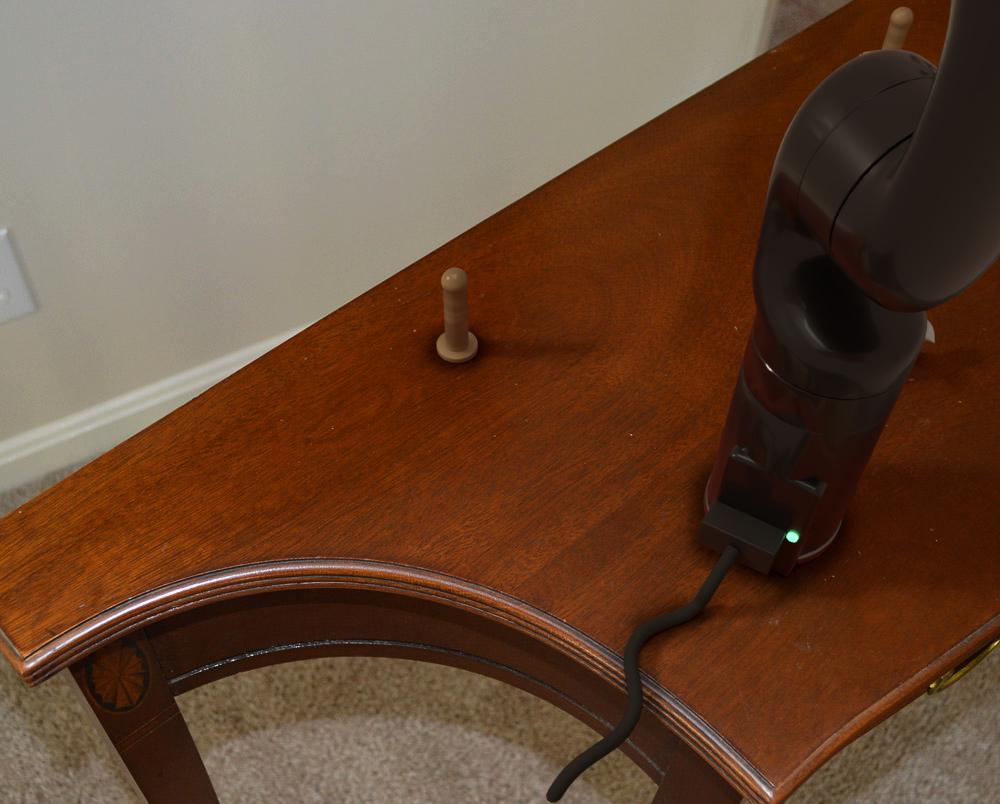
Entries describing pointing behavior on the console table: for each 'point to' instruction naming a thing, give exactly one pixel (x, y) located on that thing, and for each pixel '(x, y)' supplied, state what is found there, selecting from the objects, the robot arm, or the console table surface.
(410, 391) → the console table surface
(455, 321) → the left peg
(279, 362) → the console table surface
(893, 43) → the right peg
